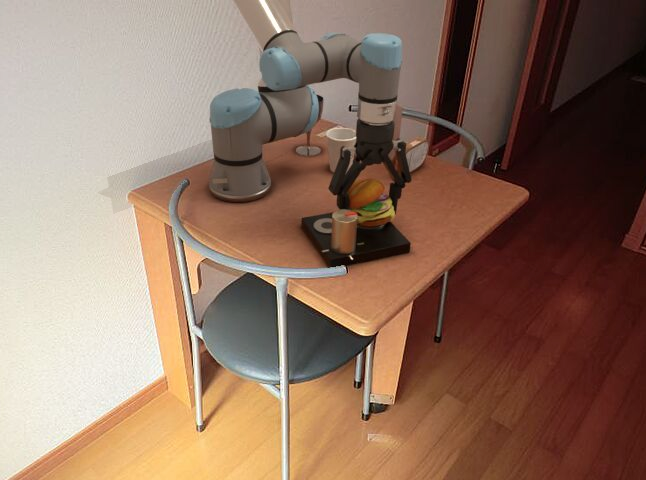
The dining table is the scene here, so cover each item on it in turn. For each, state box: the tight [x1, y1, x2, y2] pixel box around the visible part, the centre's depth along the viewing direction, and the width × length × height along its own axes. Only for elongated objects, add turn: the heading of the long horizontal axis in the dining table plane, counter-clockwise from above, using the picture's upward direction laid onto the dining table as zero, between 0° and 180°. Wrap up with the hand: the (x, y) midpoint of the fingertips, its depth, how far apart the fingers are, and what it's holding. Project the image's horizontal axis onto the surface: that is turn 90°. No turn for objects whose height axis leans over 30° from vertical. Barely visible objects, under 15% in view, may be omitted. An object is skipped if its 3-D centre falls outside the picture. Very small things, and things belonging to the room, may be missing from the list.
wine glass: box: [295, 93, 324, 157], centre depth 153 cm, size 8×8×15 cm
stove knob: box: [331, 209, 358, 254], centre depth 110 cm, size 5×5×8 cm
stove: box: [300, 211, 411, 268], centre depth 118 cm, size 19×19×3 cm
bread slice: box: [391, 135, 430, 176], centre depth 146 cm, size 15×3×8 cm, turn 141°
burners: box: [314, 218, 386, 234], centre depth 120 cm, size 8×17×1 cm, turn 111°
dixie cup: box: [325, 127, 356, 173], centre depth 145 cm, size 8×8×10 cm
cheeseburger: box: [347, 177, 396, 227], centre depth 119 cm, size 10×11×10 cm
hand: (367, 216), depth 121 cm, fingers closed on cheeseburger, 11 cm apart
